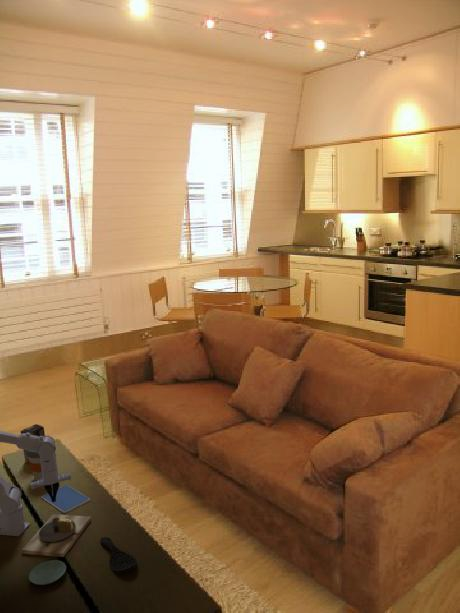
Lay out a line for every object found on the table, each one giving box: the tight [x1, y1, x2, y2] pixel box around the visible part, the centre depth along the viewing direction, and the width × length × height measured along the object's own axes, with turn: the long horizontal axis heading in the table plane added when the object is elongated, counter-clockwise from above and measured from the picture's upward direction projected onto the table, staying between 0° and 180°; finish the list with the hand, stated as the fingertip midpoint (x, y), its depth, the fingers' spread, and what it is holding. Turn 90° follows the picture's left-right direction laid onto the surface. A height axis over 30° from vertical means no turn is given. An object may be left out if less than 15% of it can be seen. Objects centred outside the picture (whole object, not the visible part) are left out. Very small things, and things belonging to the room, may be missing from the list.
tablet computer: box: [40, 484, 91, 514], centre depth 227 cm, size 19×13×1 cm, turn 47°
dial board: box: [21, 513, 92, 558], centre depth 201 cm, size 16×22×2 cm
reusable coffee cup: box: [27, 445, 57, 481], centre depth 245 cm, size 13×12×15 cm
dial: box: [38, 518, 76, 543], centre depth 201 cm, size 13×13×5 cm
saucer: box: [28, 559, 67, 586], centre depth 180 cm, size 12×12×2 cm
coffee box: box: [20, 423, 46, 463], centre depth 263 cm, size 9×6×16 cm
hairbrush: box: [100, 536, 138, 574], centre depth 188 cm, size 8×4×25 cm
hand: (53, 500), depth 208 cm, fingers closed
